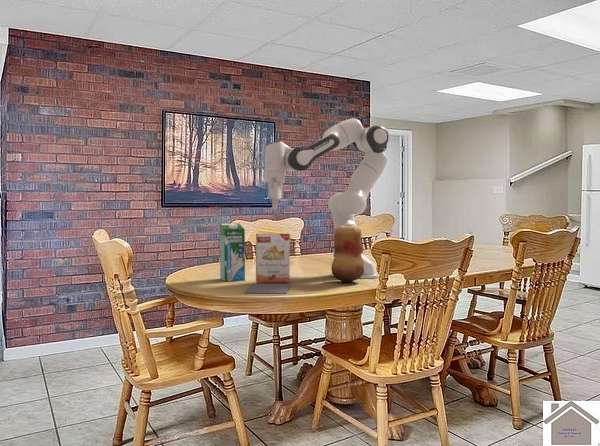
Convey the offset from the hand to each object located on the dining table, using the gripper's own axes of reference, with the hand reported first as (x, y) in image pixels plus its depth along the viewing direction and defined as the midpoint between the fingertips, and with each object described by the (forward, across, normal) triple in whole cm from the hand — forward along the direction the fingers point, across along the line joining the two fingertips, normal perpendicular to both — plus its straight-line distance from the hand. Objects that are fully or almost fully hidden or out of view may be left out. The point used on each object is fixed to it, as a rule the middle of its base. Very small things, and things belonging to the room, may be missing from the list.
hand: (275, 209), depth 220 cm
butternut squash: (+31, -7, -32) cm, 45 cm away
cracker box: (+31, -10, 0) cm, 33 cm away
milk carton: (+31, -2, +19) cm, 37 cm away
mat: (+31, -24, 0) cm, 39 cm away
